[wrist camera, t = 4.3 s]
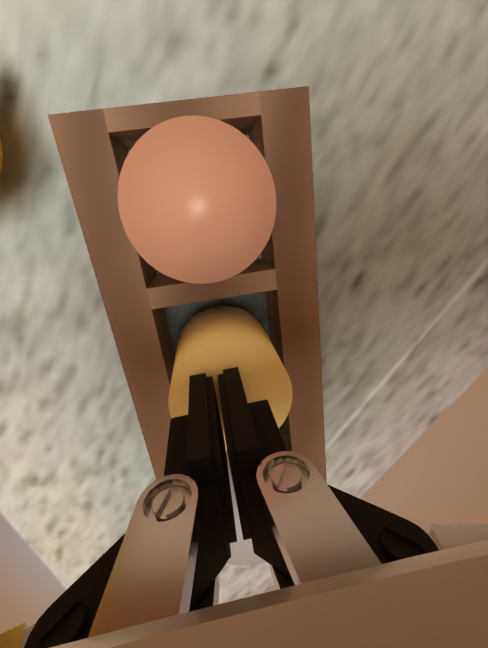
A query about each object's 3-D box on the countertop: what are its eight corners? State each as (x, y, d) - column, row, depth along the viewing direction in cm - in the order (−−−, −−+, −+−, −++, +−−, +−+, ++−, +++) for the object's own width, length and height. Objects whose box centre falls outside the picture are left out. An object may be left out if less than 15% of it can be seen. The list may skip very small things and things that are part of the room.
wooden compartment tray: (287, 110, 14) (308, 86, 11) (310, 459, 21) (327, 498, 18) (79, 134, 13) (47, 114, 11) (175, 486, 20) (171, 530, 18)
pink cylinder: (246, 140, 12) (268, 106, 8) (258, 253, 14) (282, 272, 10) (132, 154, 12) (97, 125, 8) (158, 268, 14) (139, 293, 9)
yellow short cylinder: (263, 299, 15) (287, 333, 11) (272, 381, 16) (296, 439, 12) (168, 314, 14) (155, 356, 10) (186, 396, 16) (182, 461, 12)
